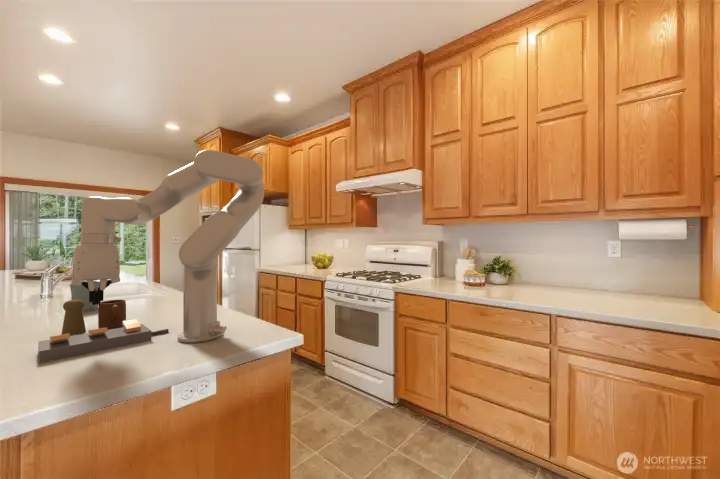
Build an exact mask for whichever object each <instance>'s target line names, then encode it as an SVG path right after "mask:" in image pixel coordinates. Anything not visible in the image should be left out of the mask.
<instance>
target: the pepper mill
mask: <svg viewBox="0 0 720 479" xmlns="http://www.w3.org/2000/svg"><path fill="white" fill-rule="evenodd" d="M83 307H84V302H83V301H82V300H72V299H70V300H67V301H65V302H63V305H62V308H63V310H64V311H65V313H64V316H63V317H64V318H63V323H62V329H61V334H60V335H63V334H70V336H74V335H80V334H86V332H87V329H86V323H85V319H84V318H85V317H84V314H83V313H84V312H82V309H83Z"/></svg>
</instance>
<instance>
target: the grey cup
mask: <svg viewBox="0 0 720 479" xmlns="http://www.w3.org/2000/svg"><path fill="white" fill-rule="evenodd" d="M93 282H94V288H95V289H96V290H97V288H98V287H99V283H100V281H98V280H93ZM69 289H70V295H71V296H70V300H82V301H83V302H84V307H83V309H82V312H83V313H85V312H84V311H86V312H92V311H96V310H98V306H99V305H98V304H96V305H92V302H89V290H88V289H87V288H85V287H84V286H80V285H73V284H71V283H70V284H69Z"/></svg>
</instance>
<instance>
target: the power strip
mask: <svg viewBox="0 0 720 479" xmlns="http://www.w3.org/2000/svg"><path fill="white" fill-rule="evenodd" d="M139 324H140V323H139ZM140 326H141V330H138V331H133V332H127V333H126V331H125V329H124V327H122V328H116V329H110V330H108V332H105V334H102V335H97V336H91V334H89V332H88V333H86V332H85V333H82V334H78V335H72V336H70V338H68V341H62V342H56V343H52V341H50V339H46V340H40V341H38V342H37V343H38V344H37V345H38V351H37V352H38V363H39V364H43V363H48V362H53V361H57V360H63V359H66V358H71V357H77V356H82V355H87V354H92V353H96V352H97V353H98V352H101V351H107V350H110V349H111V350H112V349H115V348H116V349H117V348H121V347H125V346H132V345H135V344H136V345H137V344H141V343H145V342H150V341H151V342H152V336H157V335H162V334H168V333H169V328H165V329H160V330H155V331H152V330H151V329H150V328H148V326H146V325H144V324H143V323H141V324H140Z"/></svg>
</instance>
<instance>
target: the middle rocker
mask: <svg viewBox="0 0 720 479" xmlns="http://www.w3.org/2000/svg"><path fill="white" fill-rule="evenodd" d="M87 332H88V333H89V334H91V336H97V335H102V334H105V332H108V327H107V328H100V329H99V328H95V329H89V330H87Z"/></svg>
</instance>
